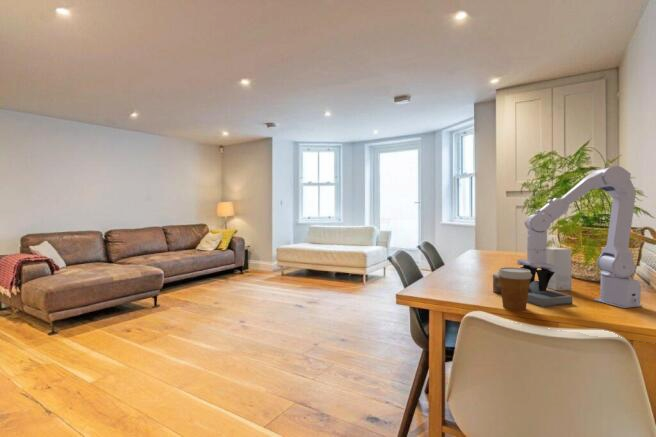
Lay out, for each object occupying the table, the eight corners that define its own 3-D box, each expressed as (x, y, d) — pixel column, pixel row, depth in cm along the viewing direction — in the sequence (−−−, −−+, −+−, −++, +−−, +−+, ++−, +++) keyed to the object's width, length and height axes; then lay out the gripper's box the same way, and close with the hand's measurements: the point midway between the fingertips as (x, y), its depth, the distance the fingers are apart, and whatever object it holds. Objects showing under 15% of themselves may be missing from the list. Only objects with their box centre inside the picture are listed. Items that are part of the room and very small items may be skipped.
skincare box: (572, 290, 127) (572, 249, 126) (554, 290, 127) (554, 249, 126) (557, 285, 135) (557, 246, 135) (540, 285, 135) (541, 246, 135)
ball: (547, 294, 115) (547, 282, 114) (537, 296, 113) (537, 283, 113) (535, 291, 119) (536, 278, 118) (525, 292, 117) (526, 279, 117)
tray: (572, 303, 110) (572, 296, 110) (542, 307, 107) (542, 299, 107) (530, 292, 125) (530, 285, 125) (503, 294, 122) (504, 287, 122)
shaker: (510, 293, 124) (510, 275, 124) (499, 294, 122) (499, 276, 122) (500, 290, 128) (500, 273, 128) (489, 291, 127) (489, 274, 127)
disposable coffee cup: (501, 301, 113) (501, 266, 113) (534, 307, 107) (534, 269, 107) (493, 308, 106) (494, 270, 105) (529, 314, 100) (529, 273, 99)
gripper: (510, 247, 121) (510, 285, 122) (546, 252, 107) (545, 295, 108) (526, 246, 123) (526, 283, 124) (563, 251, 109) (563, 293, 110)
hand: (536, 289), depth 116 cm, fingers closed on ball, 4 cm apart
